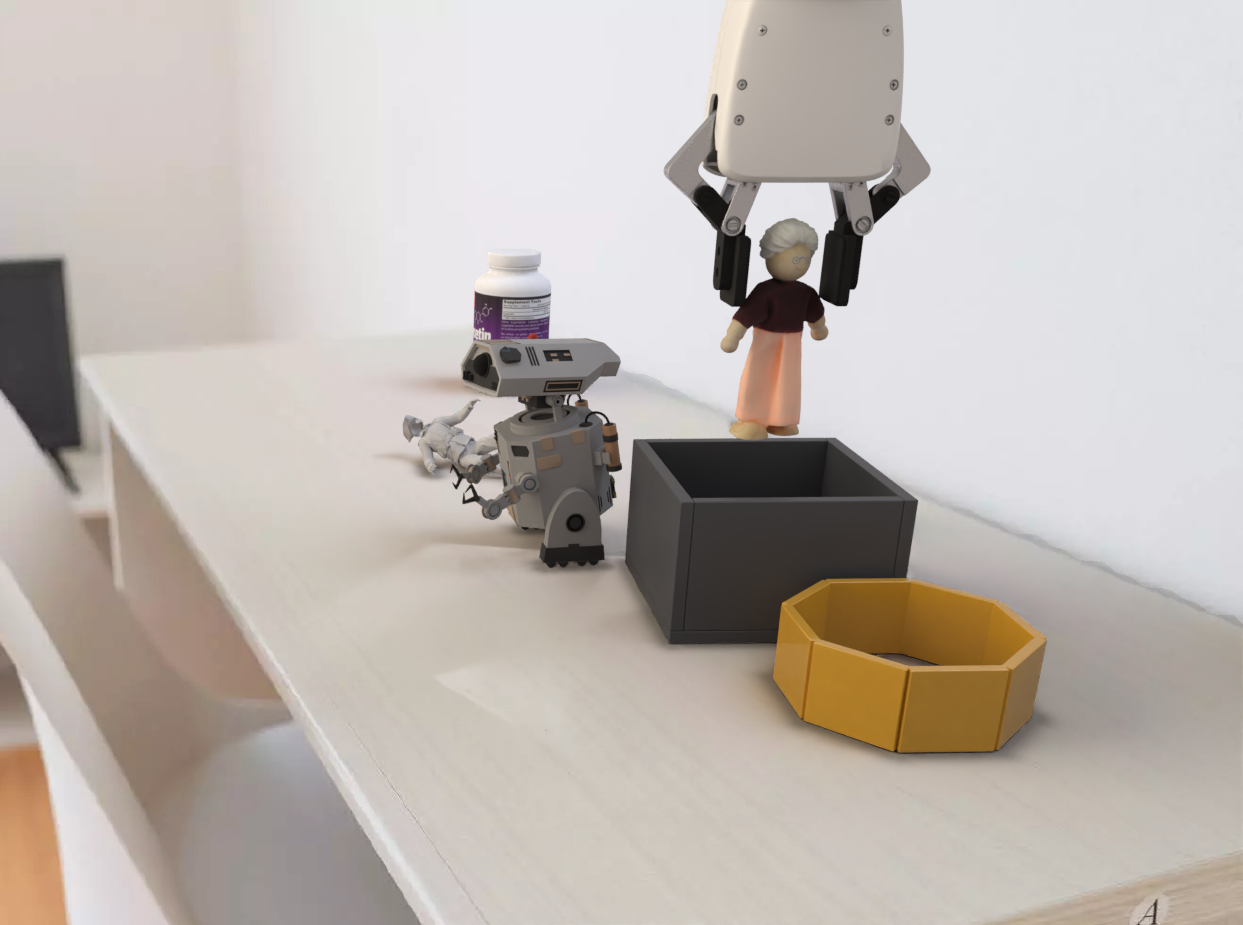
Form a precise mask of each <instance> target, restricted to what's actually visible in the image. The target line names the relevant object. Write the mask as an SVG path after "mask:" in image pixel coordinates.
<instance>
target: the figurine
mask: <svg viewBox="0 0 1243 925" xmlns="http://www.w3.org/2000/svg"><path fill="white" fill-rule="evenodd" d="M621 363H622V361H621V357H620V356H619V355H618V353H616V352H615V351H614V350H613V349H612V348H611V347H610V346H608V344H607V343H605V342H603V341H599V340H595V339H591V338H588V337H584V338H583V337H582V338H580V337H579V338H577V337H575V338H549V339H537V335H536V334H535V333H531V334H530V335H529V336H528V339H499V340H474V341H473V340H472V343H471V345H470V347H469V349H468V350H467V352H466V354H465V356H464V358H463V359H462V361H461V363H460V372H461V383H462V385H464V386H466V387H468V388H471V389H473V390H475V391H478V392H480V393H483V394H487V395H488V396H489V395H490V396H492V397H495V398H513V397H515V398H516V397H517V402H518V403H520V404H523V405H524V408H525V409H524V410H521V411H519V412H516V413H514V415H512V416H510V417H507V418H506V419H504V420H503V421H501V420H500V421H499V422H497V423H495V424H493V434H494V435H495V436H496V437H495V436H494V439H495V440H496V444H497V448H498V449H497V452H496V453H494V454H491V453H488V454H485V455H483V456H482V457H481V458H480V459H481V461H482V462H478V463H477V464H476V465H472V464H470V465H468V466H467V468H465V471H462V472H460V471H459V469H458V468H457V467H456V465H455V464H454V463H451V465H450V470H449V474H451V473H452V472H453V471H454V473H455V475H456V477H457V480H456V483H454V482H451V484H452V487H453V488H454V489H455V490H458V488H459V487H460V484H461V482H462V481H463V479H464V480H466V482H467V483H468V484H469V485H468V487H467V488H466V490H464V492H463V493H462V501H461V503H462V505H466V504H471V503H474V502H475V503H477V504H478V505H479V506H481V516H482V517H483V518H484V519H487V520H490V521H495V520H498V519H499V517H500V516H501V515H502V512H503V510H505V509H506V510H507V512H508V515H509V516H510V517H511V519H512V521H513V522H514V523H515V525H516V526H517V527H518V528H519V527H520V528H521V529H522V530H523V531H527V530H529V529H530V528H531V529H533V530H536V531H537V530H539V529H543V530H544V538H543V542H541V544H540V550H539V555H538V558H539V559H540V561H541V562H542V564H545V565H546V566H547V567H548V568H549V569H553V568H555V567H556V566H557V564H558V566H559V567H560V568H566V567H567V566H568V565H569V563H576V564H577V566H579V567H585V566H586V565H587V563H588V564H589V565H590V566H592V567H595V566H597V565H599V564H598V563H599V562H600V561H606V556H605V555H606V554H605V546H604V544H603V542H602V541H603V538H602V537H603V536H602V530H603V529H602V519H601V516H602V515H603V514H605V513H606V512H607V511H608V510H610V509H612V507H613V506H614V500H613V499H617V492H616V487H615V486H616V480H615V477H614V476H613V475H612V474H610V473H616V472H620V471H622V470H623V462H621V455H620V446H619V432H618V430H617V429H618V428H617V423H615V422H612V421H610V419H609V417H608V416H607V415H606V414H605V413H603V412H601V411H598V410H597V411H595V410H594V411H593V410H592V409H591V408H589V401H588V399H584V398H582V396H581V395H583V394H584V393H585V392H586V391H587V390H588V389H589V388H590V387H591V386H592V385H593V384H594V383H595V382H596V381H597V380H598V379H599V378H601V377H602V378H605V377H617V374H618V372H619V369H620V367H621ZM573 395H576V396H577V397H578V399H577V400H576V401H574V405H572V404H570V399H571V397H572V396H573ZM566 396H567V398H566ZM565 402H566V404H565ZM598 415H600V416H602V417H603V418H604V419H605V420H606V422H605V423H604V420H603V419H602V418H601V417H600V416H598ZM498 464H499V465H500V467H501V474H500V475H501V480H502V485H503V488H502V493H499V494H498V495H497V496H496V497H495V498H489V499H487V500H486V499H485V498H484V497H483V496H481V495H479V494H478V492H477V490H476V488H475V487H474V486H475V485H478V484H479V483H480V482H481V480H482V477H483V476H485V475H488V474H491V473H490V472H493V471H494V470H496V468H497V467H496V465H498ZM487 473H488V474H487ZM473 484H474V485H473ZM470 490H471V493H472V496H470V497H469V498H467V499H466V493H467V492H469V491H470Z"/></svg>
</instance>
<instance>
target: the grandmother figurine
mask: <svg viewBox="0 0 1243 925" xmlns="http://www.w3.org/2000/svg"><path fill="white" fill-rule="evenodd" d="M758 242H759V245H758V248H760V251H759V257H760V258H762V259H764V261H765V268H766V270H767V272H768V274H769V275H770V276H771V278H768V279H765V280H763V281H760V282H758V283H757V284H756V285H755V286H754V288H752V290H751V291H750V292H749V294H748V295H747V296H746V302H745V304H744V305H742V306H741V307H738V309H737V310H736V311H735V312H734V314H733V315H732V318H731V321H730V323H729V326H728V328H727V329H726V335H725V336H724V337H722V339H721V341H720V345H719V346H720V349H721V350H722V351H723V353H727V354H733V353H735V352H736V351H737V350H738V348H739V345H740V341H741V340H743V338H744V337H745V335H746V333H747V331H748V330H749V329H750V328H752V341H751V345H750V347H749V349H748V353H747V356H746V360H745V363H744V367H743V369H742V372H741V375H740V380H739V384H738V394H737V399H736V406H735V411H734V417H735V418H736V419H737V421H735V422H734V423H733V424H732V425H730V427H729V429H728V432H729V433H730V434H731V435H732V436H733V437H734V438H739V439H742V440H752V441H755V440H764V439H767V438H769V434H770V435H773V436H777V437H778V436H779V437H790V436H791V437H792V436H797V435H799V434H800V430H799V427H798V425H800V421H801V410H802V408H801V407H802V357H803V356H802V339H803V331H804V328H805V327H804V326H805V325H804V323H805V322H806V323H807V326H808V327H809V329H810V331H809V332H810V333H809V334H810V337H811V338H812V340H814V341H820V342H821V341H824V340H826V339H827V338H828V336H829V334H830V333H829V332H830V331H829V328H828V327H827V325H826V322H827V321H826V316H825V306H824V304H823V302H822V298H820V297H819V292H818V291H817V290H816V289H815V287H813V286H811V285H808V284H807V283H805V282H803V281H800V280H799V279H801V278H802V277H804V276H805V275H806V274H807V272H808V271H809V269H810V267H811V263H812V259H813V257H814V255H815V253H816V251H817V250H818V249H819V235H818V232H817V231H816V229H815V228H814V227H812V226H810V225H809V223H807V222H806V221H805V222H804V221H803V220H799V219H797V218H795V217H791V218H785V219H783V220H778V221H776V222H775V223H774V224H772V225H771V226H770V227H768V228H766V229H765V231H764V234H763V235H762V236H761V238H760V240H759V241H758Z"/></svg>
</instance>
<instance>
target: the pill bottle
mask: <svg viewBox="0 0 1243 925" xmlns="http://www.w3.org/2000/svg"><path fill="white" fill-rule="evenodd" d="M486 260H487V261H486V263H487V264H486V265H487V266H488V268H489V269H488V271H486V272H484V273H482V274H480V275H479V277H478V278H477V279H476V280H475V283H474V294H473V296H474V298H473V301H474V302H473V334H472V336H473V338H472V342H473V341H474V340H499V339H528V336H529V335H530V334H531V333H535V334H536V335H537V339H550V319H551V300H552V284H551V281H550V280H549V279H548V277H547V276H546V275H544V274H542V273H541V272H539V268H540V267H541V263H542V252H541V251H539V250H535V249H528V248H496V249H491V250H488V251H487V259H486Z"/></svg>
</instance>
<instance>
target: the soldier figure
mask: <svg viewBox="0 0 1243 925" xmlns="http://www.w3.org/2000/svg"><path fill="white" fill-rule="evenodd" d="M481 401H482V400H481V399H480V398H477V397H476V398H471V399H470V401H468V403H466V405H464V407H463V408H461V409H460V410H458V411H457V412H456V413H453V414H451V415H444V416H439V417H435V418H434V419H433V420H432V421H431V422H428V423H426V424H424V421H423V419H422V418H421V419H420V418H417V417H415V416H412V415H409V414H406V415H405V416H404V418H403V421H402V435H403V437H404V438H405V439H406V440H407V441H408V444H409V443H411V441H412V439H413V438H414V437H415V438H419V437H420V439H419V441H418V442H417V447H418V449H419V452H420V454H421V456H422V459H423V464H424V467H425V469H426V471H427V472H428V473H430V474H431V475H433V476H435V473H434V471H435V470H436V468H437V467H438V466H437V465H436V464H435V463H436V462H435V458H434V456H435V455H434V453H437V455H438V456H440V457H441V458H443V459H444V460H445V459H448V460H450V461H451V462H452V463H455V464H456V465H457V466H458V467H460V468H465V469H466V468H467V466H468V465H470V464H472V465H476V464H477V463H478V462H482V461H481V459H480V458H481V457H482V456H483V455H485V454H490V453H491V452H493V451H498V448H497V444H496V440H495V439H494V436H495V435H494V433H493V434H490V435H487V436H484V437H481V438H478V440H476V439H475V438H474V437H473V436H470V435H468V434H465V433H464V429H462V428H460V427H457V425H458V424H461V423H463V422H464V421H465V420H466V419H467V418H468V417H469V415H470V414H471V413H472V411H473V410H474V408H475V406H474V405H476V404H477V402H481ZM495 437H496V436H495ZM496 467H497V468H496V470H494V471H493V472H490V473H487V474H486V475H489V474H497V475H502V474H501V467H500V464H498V465H496Z"/></svg>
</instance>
